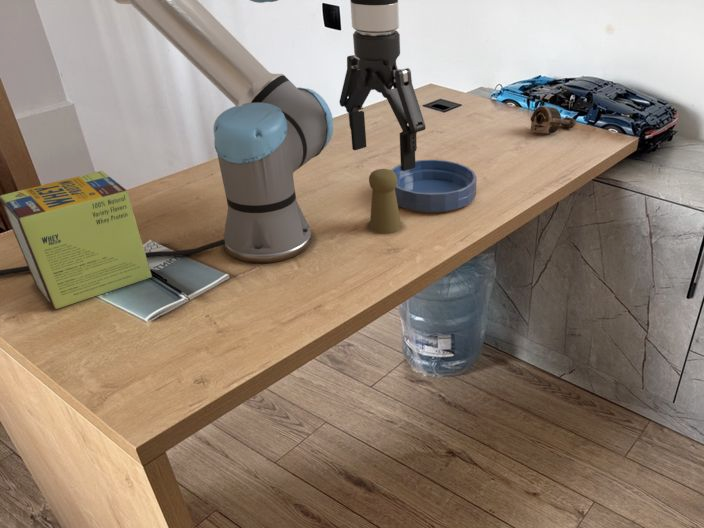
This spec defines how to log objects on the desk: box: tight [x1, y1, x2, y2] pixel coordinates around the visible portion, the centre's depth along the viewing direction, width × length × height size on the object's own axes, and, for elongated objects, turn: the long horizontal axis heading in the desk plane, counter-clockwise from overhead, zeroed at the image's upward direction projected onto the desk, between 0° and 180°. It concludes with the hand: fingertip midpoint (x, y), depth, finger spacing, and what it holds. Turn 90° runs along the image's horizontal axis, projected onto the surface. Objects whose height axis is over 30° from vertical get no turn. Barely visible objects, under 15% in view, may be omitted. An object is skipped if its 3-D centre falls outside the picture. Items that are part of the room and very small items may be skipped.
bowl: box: [390, 159, 478, 214], centre depth 140 cm, size 18×18×4 cm
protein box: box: [0, 170, 153, 310], centre depth 106 cm, size 10×15×16 cm
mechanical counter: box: [529, 105, 577, 135], centre depth 173 cm, size 7×13×10 cm
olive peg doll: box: [368, 168, 402, 234], centre depth 126 cm, size 6×6×11 cm
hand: (383, 158), depth 121 cm, fingers open, 13 cm apart
